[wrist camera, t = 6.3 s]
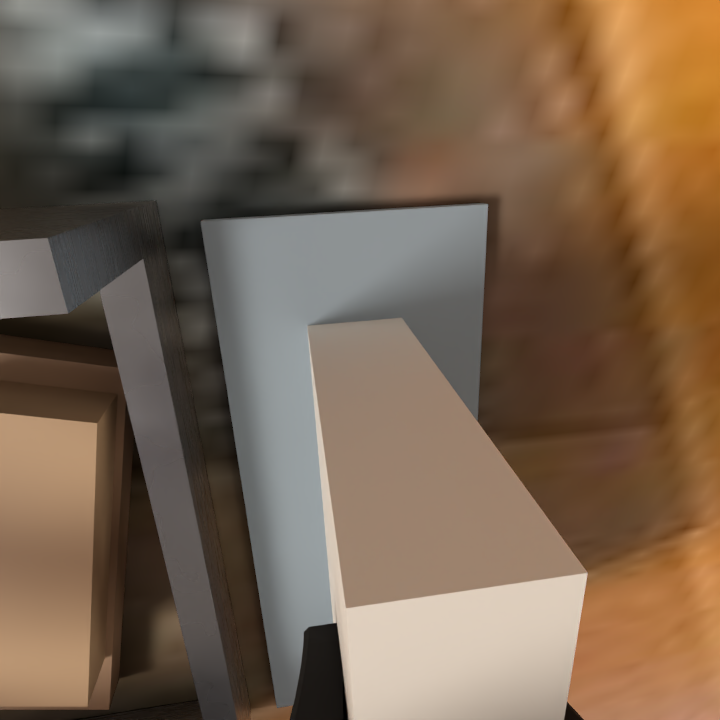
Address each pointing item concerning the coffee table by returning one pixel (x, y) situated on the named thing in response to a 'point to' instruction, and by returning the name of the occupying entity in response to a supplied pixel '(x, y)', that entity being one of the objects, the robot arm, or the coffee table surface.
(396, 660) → the cream rectangular slab
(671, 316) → the coffee table surface
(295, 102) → the coffee table surface
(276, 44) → the coffee table surface
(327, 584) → the mat
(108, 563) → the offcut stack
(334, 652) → the robot arm
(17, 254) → the rack
